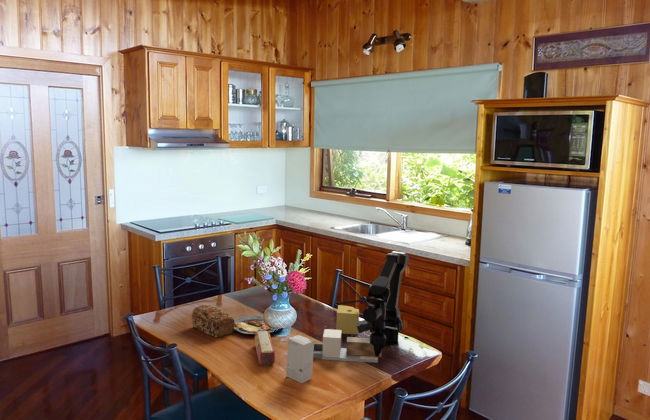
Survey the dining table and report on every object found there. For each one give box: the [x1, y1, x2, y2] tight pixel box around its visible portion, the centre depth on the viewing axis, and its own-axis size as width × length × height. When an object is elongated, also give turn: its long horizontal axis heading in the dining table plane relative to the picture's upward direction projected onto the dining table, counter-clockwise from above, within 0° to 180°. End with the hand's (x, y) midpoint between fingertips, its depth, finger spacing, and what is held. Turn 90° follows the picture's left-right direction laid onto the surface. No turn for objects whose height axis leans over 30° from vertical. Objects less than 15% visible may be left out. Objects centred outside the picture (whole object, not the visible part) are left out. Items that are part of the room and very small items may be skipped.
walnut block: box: [346, 336, 383, 358], centre depth 217 cm, size 14×5×6 cm, turn 86°
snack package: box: [253, 331, 276, 367], centre depth 215 cm, size 21×7×7 cm, turn 12°
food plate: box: [234, 314, 275, 336], centre depth 245 cm, size 25×23×4 cm
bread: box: [191, 304, 235, 338], centre depth 240 cm, size 19×11×10 cm, turn 47°
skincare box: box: [285, 334, 315, 384], centre depth 196 cm, size 8×6×15 cm
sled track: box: [313, 328, 379, 364], centre depth 217 cm, size 27×10×9 cm, turn 86°
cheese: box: [335, 304, 360, 335], centre depth 245 cm, size 10×11×10 cm
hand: (376, 352), depth 217 cm, fingers open, 9 cm apart
